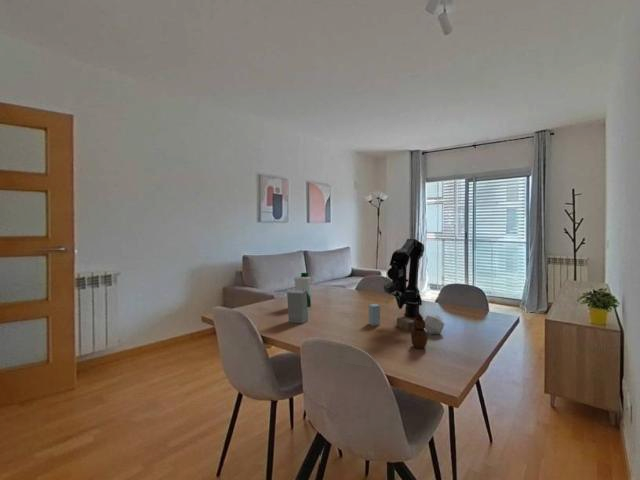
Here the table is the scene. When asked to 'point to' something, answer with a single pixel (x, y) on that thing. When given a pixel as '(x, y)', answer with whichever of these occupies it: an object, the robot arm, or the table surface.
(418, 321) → the wooden figurine
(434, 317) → the die
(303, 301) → the skincare box
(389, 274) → the robot arm
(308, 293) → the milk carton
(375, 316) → the blue-grey block
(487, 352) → the table surface
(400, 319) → the walnut block
